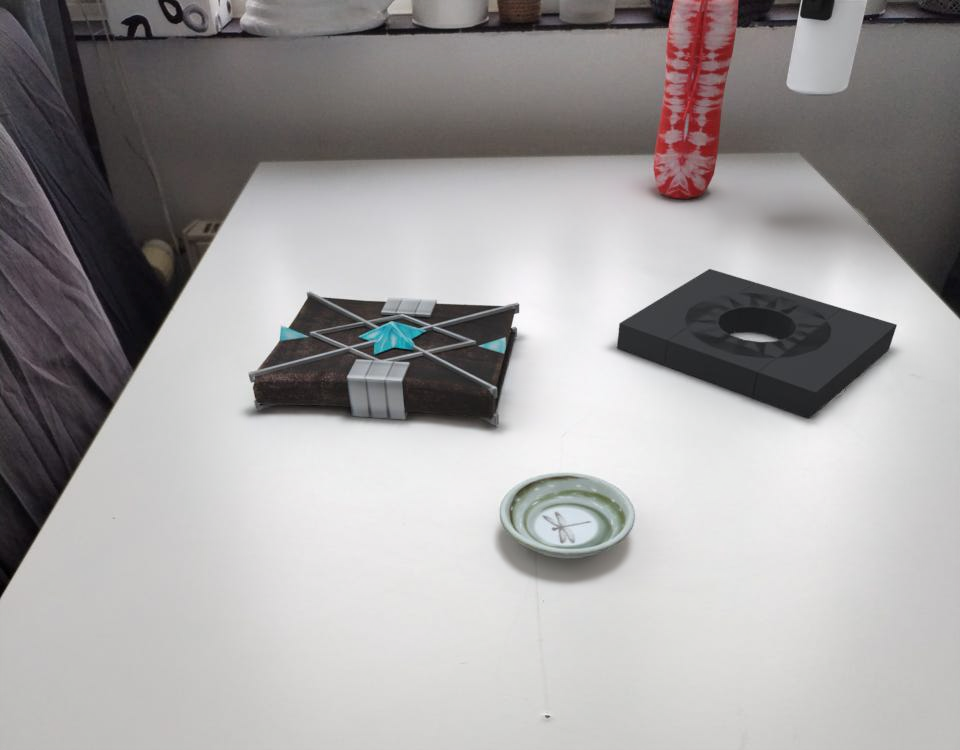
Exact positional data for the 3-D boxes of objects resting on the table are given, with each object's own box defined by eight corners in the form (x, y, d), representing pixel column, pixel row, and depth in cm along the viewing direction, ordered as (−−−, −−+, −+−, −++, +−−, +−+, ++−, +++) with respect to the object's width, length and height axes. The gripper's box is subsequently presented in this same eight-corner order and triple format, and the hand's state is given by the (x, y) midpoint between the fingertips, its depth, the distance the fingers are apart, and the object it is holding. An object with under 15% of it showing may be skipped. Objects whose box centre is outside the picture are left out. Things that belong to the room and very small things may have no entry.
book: (254, 412, 78) (242, 359, 75) (310, 325, 90) (302, 276, 87) (498, 428, 76) (497, 374, 72) (522, 337, 88) (523, 286, 84)
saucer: (659, 549, 64) (663, 522, 62) (545, 596, 61) (546, 569, 59) (582, 483, 70) (584, 456, 68) (476, 522, 67) (475, 495, 65)
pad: (889, 349, 84) (897, 324, 82) (808, 418, 76) (816, 392, 74) (705, 292, 94) (709, 268, 92) (616, 347, 86) (619, 323, 84)
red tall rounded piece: (659, 170, 121) (685, -63, 103) (719, 175, 119) (756, -61, 101) (642, 201, 113) (667, -46, 95) (706, 207, 111) (743, -44, 93)
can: (783, 95, 96) (808, -45, 87) (787, 80, 100) (811, -55, 91) (846, 98, 94) (878, -44, 86) (847, 82, 98) (878, -54, 90)
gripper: (878, -227, 73) (825, 32, 86) (962, -234, 82) (902, 2, 95) (795, -225, 77) (756, 23, 90) (883, -231, 86) (836, -5, 98)
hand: (832, 10), depth 92 cm, fingers closed on can, 6 cm apart
